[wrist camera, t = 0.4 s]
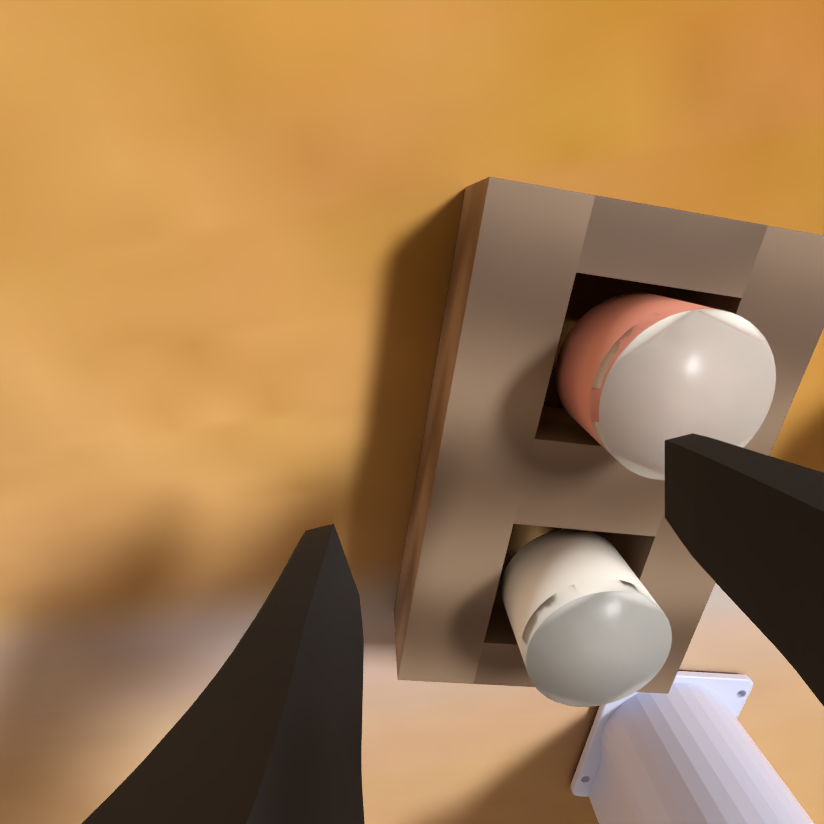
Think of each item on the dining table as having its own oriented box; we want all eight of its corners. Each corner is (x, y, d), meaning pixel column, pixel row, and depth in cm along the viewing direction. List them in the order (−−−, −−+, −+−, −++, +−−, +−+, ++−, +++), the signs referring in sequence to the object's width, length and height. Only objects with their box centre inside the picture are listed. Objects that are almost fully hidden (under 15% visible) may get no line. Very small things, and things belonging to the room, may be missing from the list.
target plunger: (671, 441, 18) (737, 488, 15) (540, 426, 18) (578, 471, 14) (719, 303, 17) (804, 322, 13) (576, 282, 16) (628, 295, 13)
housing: (625, 625, 26) (668, 693, 22) (394, 610, 24) (397, 679, 21) (766, 238, 19) (860, 241, 16) (465, 187, 18) (489, 176, 14)
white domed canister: (603, 635, 21) (645, 709, 18) (489, 628, 21) (511, 703, 17) (639, 535, 20) (692, 596, 16) (515, 523, 19) (545, 585, 16)
